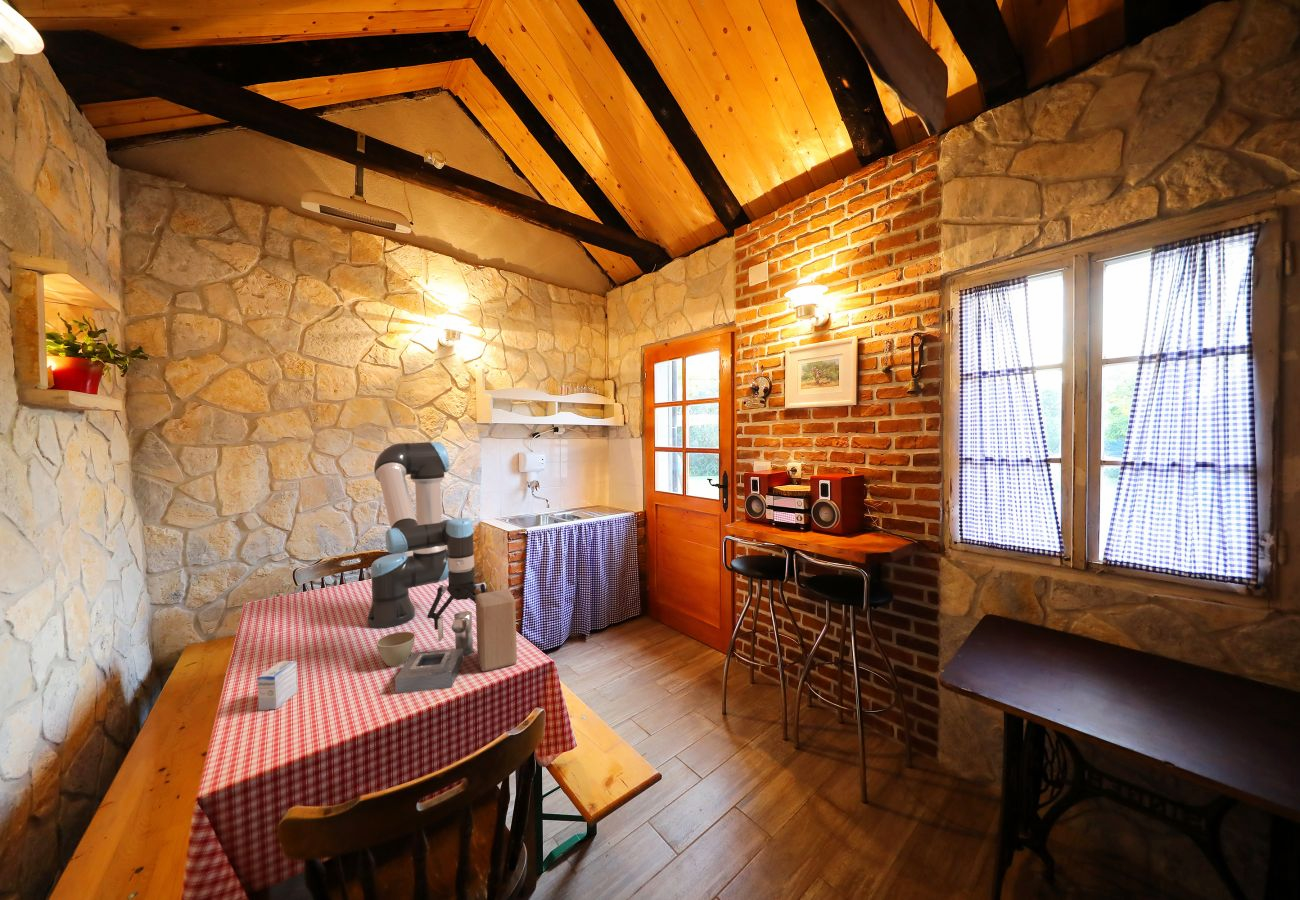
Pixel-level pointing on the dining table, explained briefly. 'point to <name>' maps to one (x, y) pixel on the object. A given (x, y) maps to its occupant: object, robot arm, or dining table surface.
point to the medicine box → (277, 685)
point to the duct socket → (429, 670)
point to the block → (496, 629)
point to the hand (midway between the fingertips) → (463, 637)
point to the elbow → (463, 632)
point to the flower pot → (396, 647)
